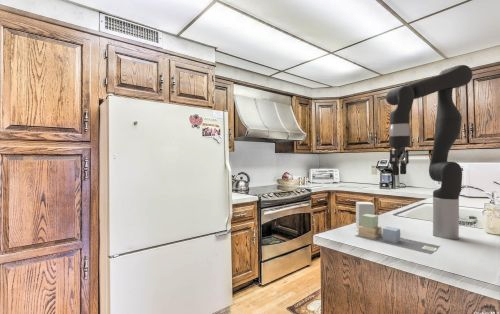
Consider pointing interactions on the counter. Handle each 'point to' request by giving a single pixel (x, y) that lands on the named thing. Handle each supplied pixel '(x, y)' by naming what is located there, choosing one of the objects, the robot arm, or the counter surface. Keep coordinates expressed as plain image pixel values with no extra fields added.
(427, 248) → the card
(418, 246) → the mat
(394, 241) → the blue block
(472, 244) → the counter surface
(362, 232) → the maple base
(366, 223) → the sage block
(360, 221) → the supplement box
